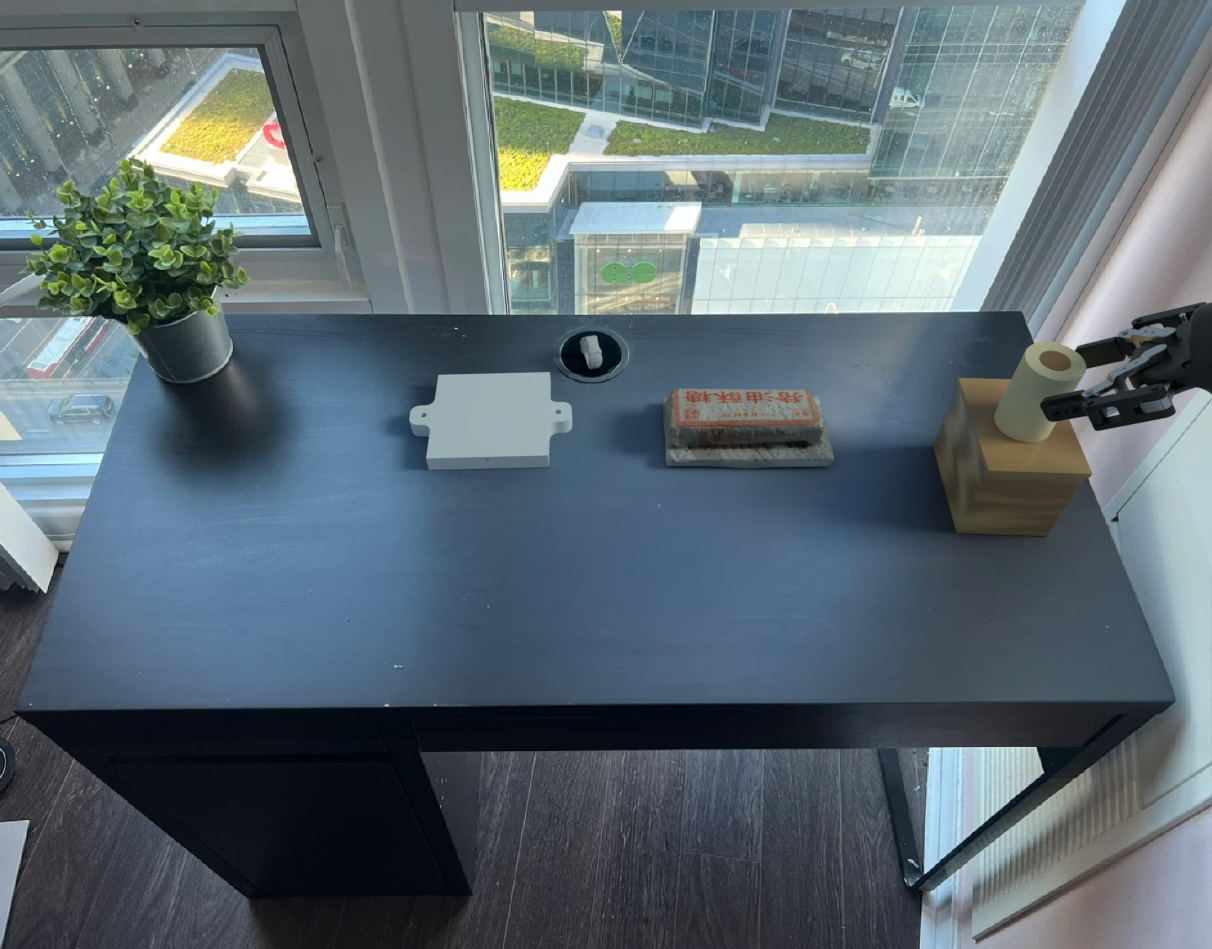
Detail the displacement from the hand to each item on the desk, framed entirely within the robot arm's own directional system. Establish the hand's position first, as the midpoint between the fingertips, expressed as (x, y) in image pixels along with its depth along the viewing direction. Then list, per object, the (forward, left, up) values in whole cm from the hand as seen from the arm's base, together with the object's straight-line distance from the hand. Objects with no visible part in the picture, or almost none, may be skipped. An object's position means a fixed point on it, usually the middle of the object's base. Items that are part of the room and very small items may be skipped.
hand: (1061, 383), depth 76 cm
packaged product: (+23, +15, -16) cm, 32 cm away
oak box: (+1, 0, -16) cm, 16 cm away
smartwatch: (+43, +21, -16) cm, 50 cm away
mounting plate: (+42, +36, -16) cm, 57 cm away
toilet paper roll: (+1, 0, -6) cm, 6 cm away
